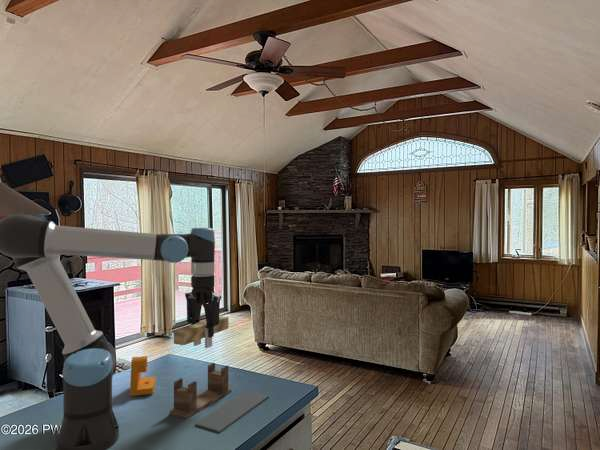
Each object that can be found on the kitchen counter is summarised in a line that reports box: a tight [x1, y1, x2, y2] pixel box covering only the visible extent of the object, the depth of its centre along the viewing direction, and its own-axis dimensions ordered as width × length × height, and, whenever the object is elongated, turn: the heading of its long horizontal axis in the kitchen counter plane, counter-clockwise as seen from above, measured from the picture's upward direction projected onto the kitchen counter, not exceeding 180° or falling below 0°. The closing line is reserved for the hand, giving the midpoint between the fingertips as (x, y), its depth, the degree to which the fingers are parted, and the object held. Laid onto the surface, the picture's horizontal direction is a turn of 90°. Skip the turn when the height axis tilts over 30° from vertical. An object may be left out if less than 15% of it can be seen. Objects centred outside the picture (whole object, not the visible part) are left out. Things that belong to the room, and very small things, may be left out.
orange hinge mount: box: [129, 355, 157, 396], centre depth 143 cm, size 11×7×12 cm, turn 15°
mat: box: [194, 390, 270, 434], centre depth 128 cm, size 26×9×1 cm, turn 152°
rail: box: [173, 315, 229, 346], centre depth 134 cm, size 22×4×4 cm, turn 153°
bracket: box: [169, 362, 233, 419], centre depth 134 cm, size 22×7×10 cm, turn 153°
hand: (202, 345), depth 134 cm, fingers closed on rail, 4 cm apart
